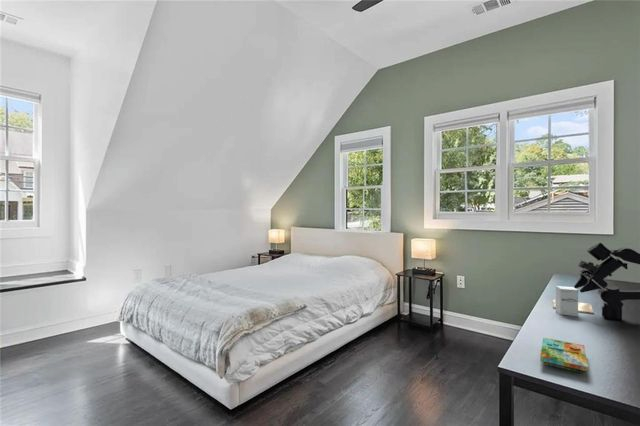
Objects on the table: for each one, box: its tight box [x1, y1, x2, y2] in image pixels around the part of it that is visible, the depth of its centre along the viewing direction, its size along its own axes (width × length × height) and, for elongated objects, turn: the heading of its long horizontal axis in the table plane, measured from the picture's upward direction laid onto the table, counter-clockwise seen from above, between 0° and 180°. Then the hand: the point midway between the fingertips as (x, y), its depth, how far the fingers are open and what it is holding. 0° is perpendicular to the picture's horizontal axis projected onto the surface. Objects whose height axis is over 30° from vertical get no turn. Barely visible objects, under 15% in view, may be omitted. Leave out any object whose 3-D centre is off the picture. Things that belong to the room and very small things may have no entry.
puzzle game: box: [540, 337, 589, 374], centre depth 109 cm, size 12×5×20 cm
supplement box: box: [555, 285, 579, 317], centre depth 160 cm, size 7×7×13 cm
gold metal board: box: [552, 298, 595, 315], centre depth 170 cm, size 16×18×1 cm
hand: (577, 289), depth 157 cm, fingers open, 9 cm apart
